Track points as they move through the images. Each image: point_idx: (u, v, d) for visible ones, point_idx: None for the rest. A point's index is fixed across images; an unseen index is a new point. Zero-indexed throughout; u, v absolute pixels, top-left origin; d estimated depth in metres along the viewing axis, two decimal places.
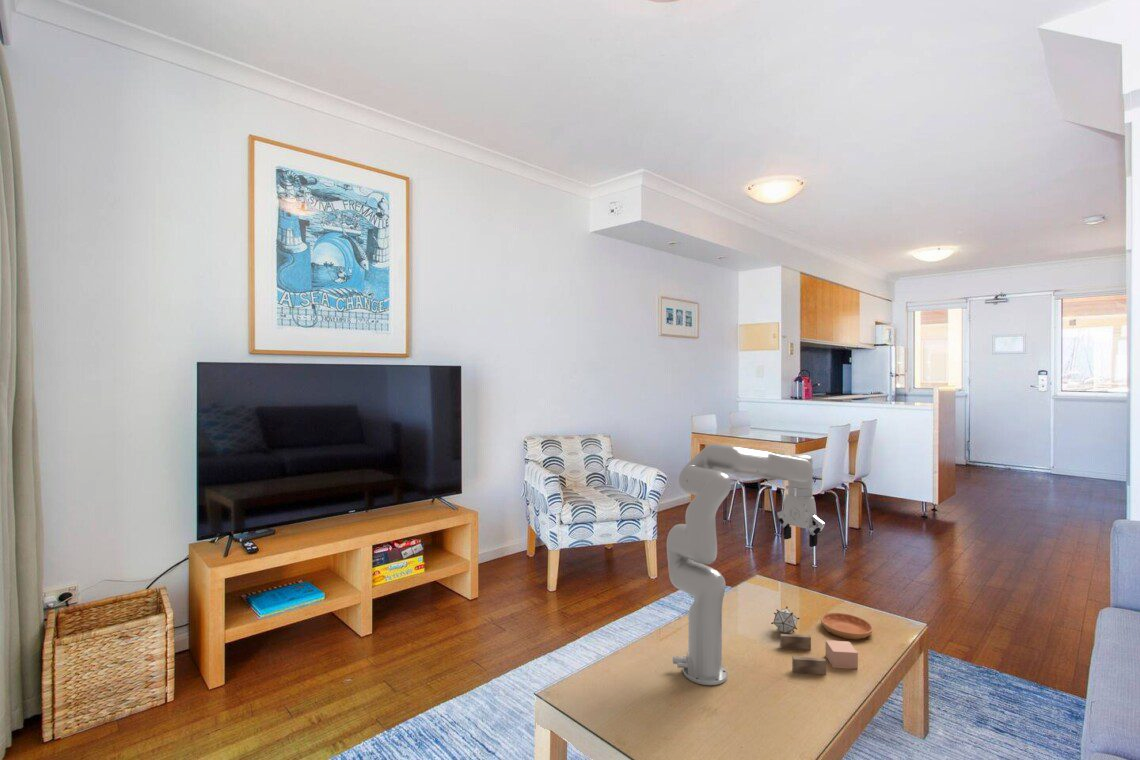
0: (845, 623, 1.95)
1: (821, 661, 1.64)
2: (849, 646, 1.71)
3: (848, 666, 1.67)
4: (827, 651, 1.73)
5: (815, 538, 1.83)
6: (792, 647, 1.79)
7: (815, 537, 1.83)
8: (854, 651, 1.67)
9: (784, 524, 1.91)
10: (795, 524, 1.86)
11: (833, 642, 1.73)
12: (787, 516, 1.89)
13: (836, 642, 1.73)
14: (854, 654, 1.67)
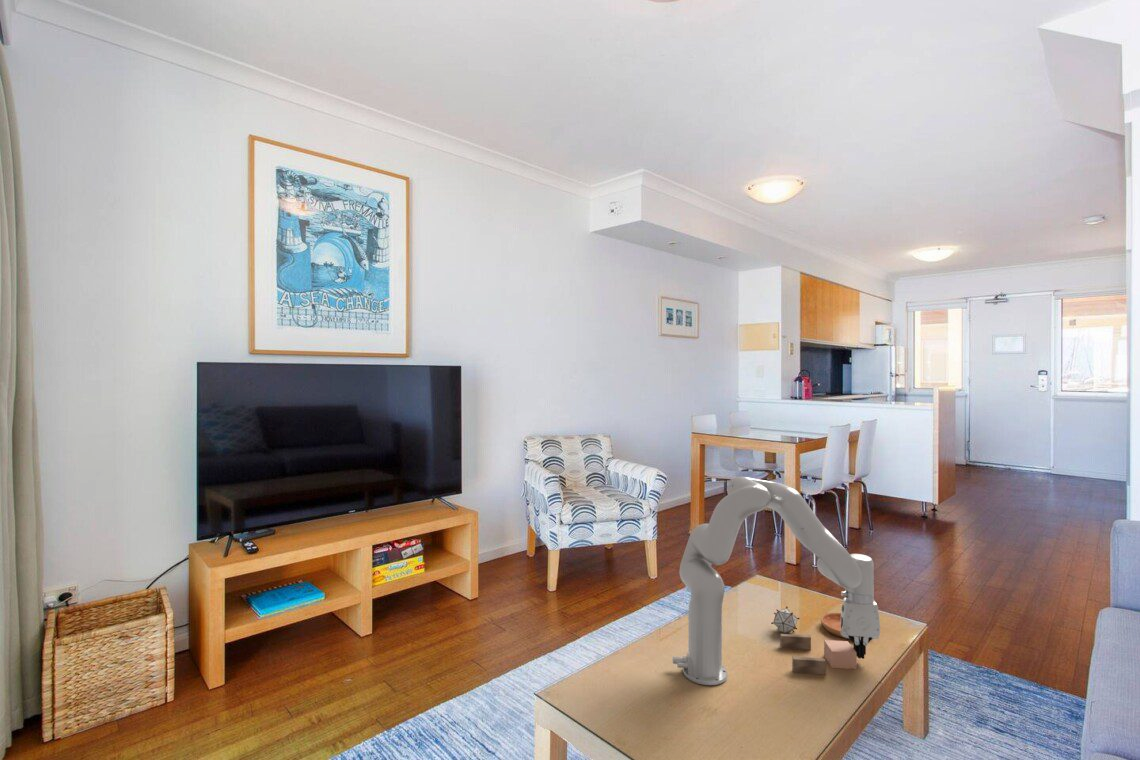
0: None
1: (821, 661, 1.64)
2: (847, 645, 1.71)
3: (847, 666, 1.67)
4: (825, 650, 1.73)
5: None
6: (792, 647, 1.79)
7: None
8: (853, 651, 1.67)
9: (858, 641, 1.69)
10: (863, 635, 1.67)
11: (832, 642, 1.73)
12: (852, 628, 1.67)
13: (834, 641, 1.73)
14: (853, 654, 1.67)
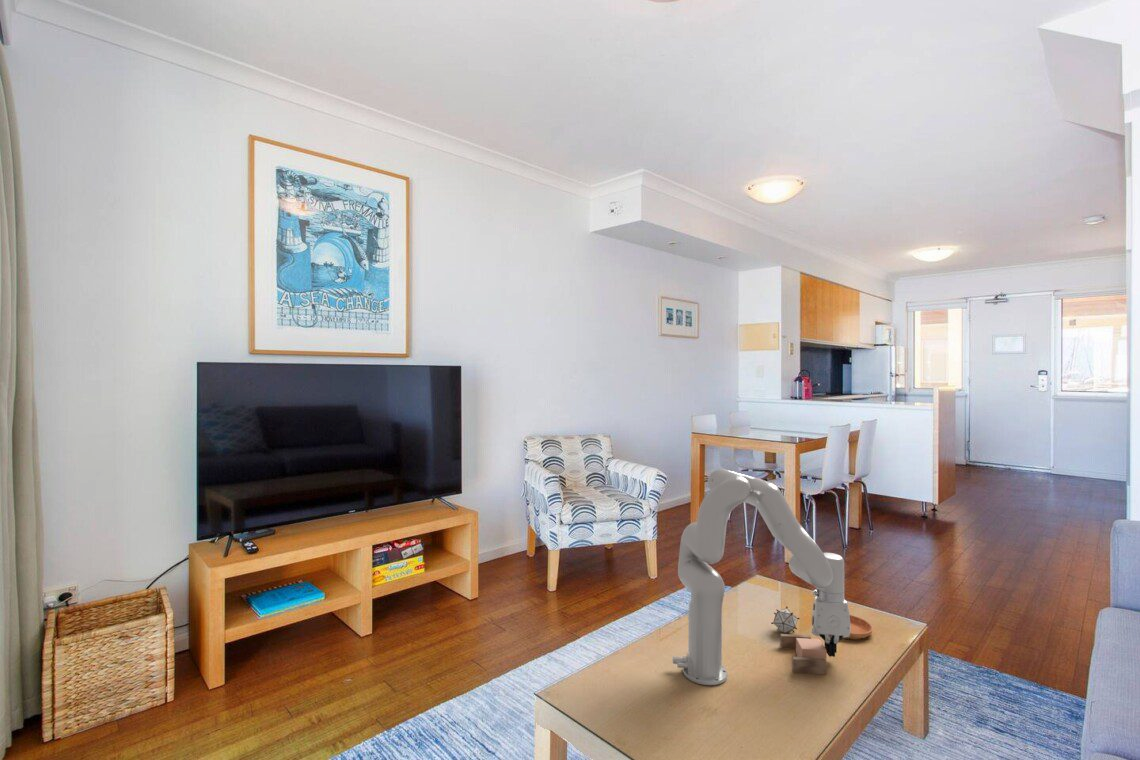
0: None
1: (821, 661, 1.64)
2: (818, 643, 1.72)
3: None
4: (797, 648, 1.74)
5: None
6: (792, 647, 1.79)
7: None
8: (823, 648, 1.69)
9: (829, 640, 1.70)
10: (834, 633, 1.68)
11: (803, 640, 1.74)
12: (823, 626, 1.68)
13: (806, 639, 1.74)
14: (823, 652, 1.68)
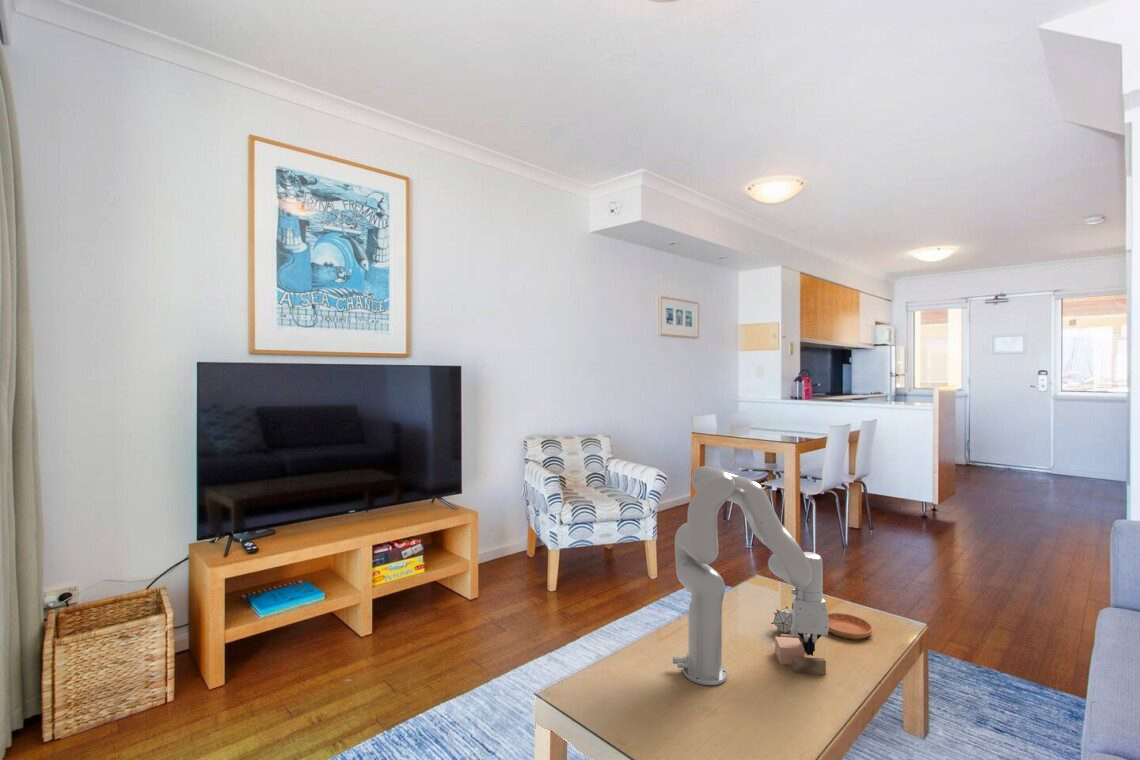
0: (845, 624, 1.95)
1: (821, 661, 1.64)
2: (797, 642, 1.73)
3: None
4: (776, 647, 1.75)
5: None
6: None
7: None
8: (801, 647, 1.69)
9: (807, 638, 1.70)
10: (812, 632, 1.69)
11: (782, 638, 1.75)
12: (801, 625, 1.69)
13: (785, 638, 1.75)
14: (801, 650, 1.69)
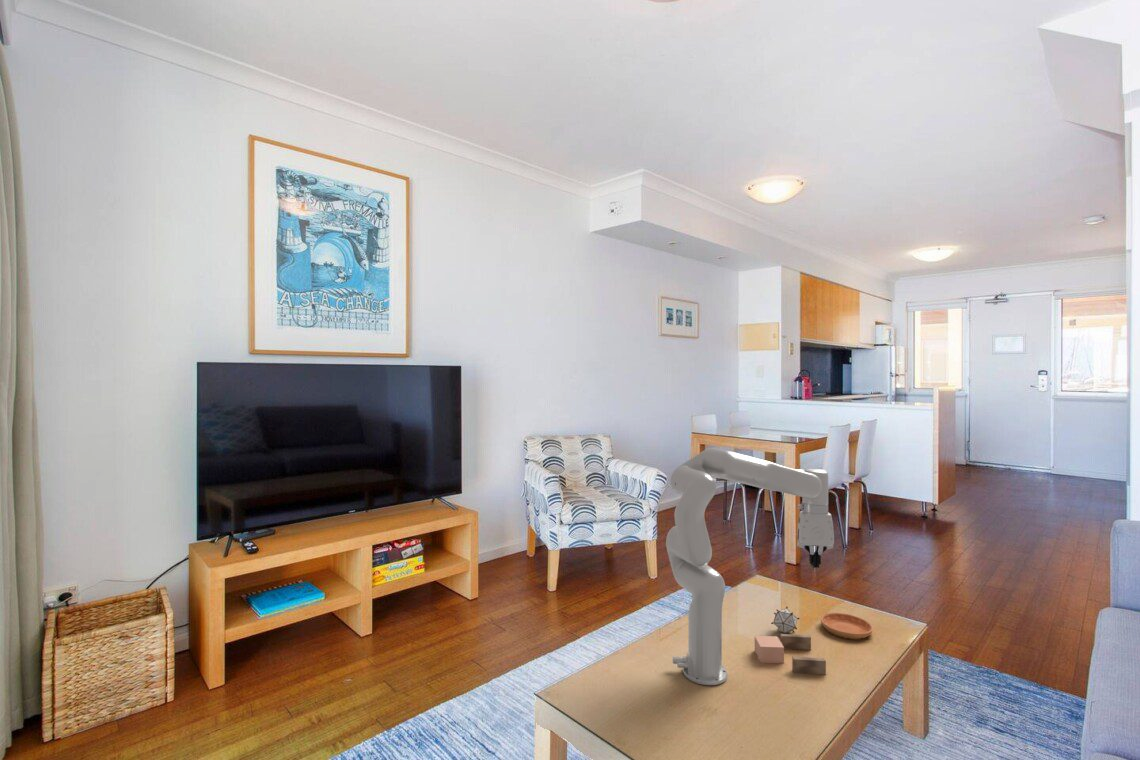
0: (845, 624, 1.95)
1: (821, 661, 1.64)
2: (776, 641, 1.74)
3: (775, 661, 1.70)
4: (755, 646, 1.76)
5: None
6: (792, 647, 1.79)
7: None
8: (780, 646, 1.71)
9: (813, 551, 1.75)
10: (818, 544, 1.74)
11: (761, 637, 1.76)
12: (808, 537, 1.74)
13: (764, 637, 1.76)
14: (780, 649, 1.70)
